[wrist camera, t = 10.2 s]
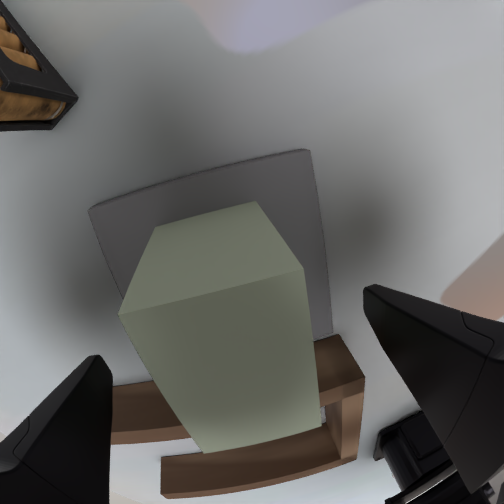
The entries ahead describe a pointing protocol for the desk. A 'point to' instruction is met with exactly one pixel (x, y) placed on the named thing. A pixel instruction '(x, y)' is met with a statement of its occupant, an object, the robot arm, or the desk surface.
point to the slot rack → (258, 455)
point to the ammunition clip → (28, 82)
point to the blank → (226, 328)
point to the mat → (219, 197)
